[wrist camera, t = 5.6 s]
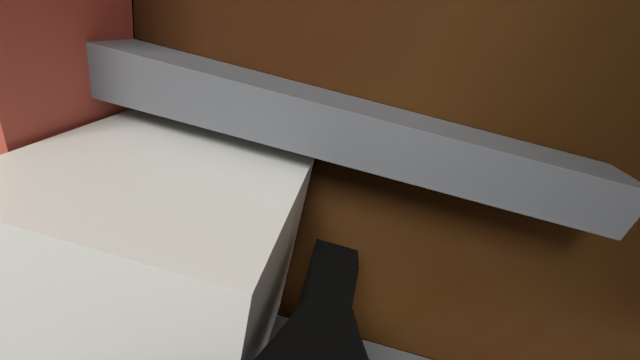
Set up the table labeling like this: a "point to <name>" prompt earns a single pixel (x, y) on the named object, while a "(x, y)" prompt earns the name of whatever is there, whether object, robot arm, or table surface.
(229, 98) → the forklift
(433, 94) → the table surface
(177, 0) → the table surface
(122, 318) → the white block
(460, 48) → the table surface
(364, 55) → the table surface
